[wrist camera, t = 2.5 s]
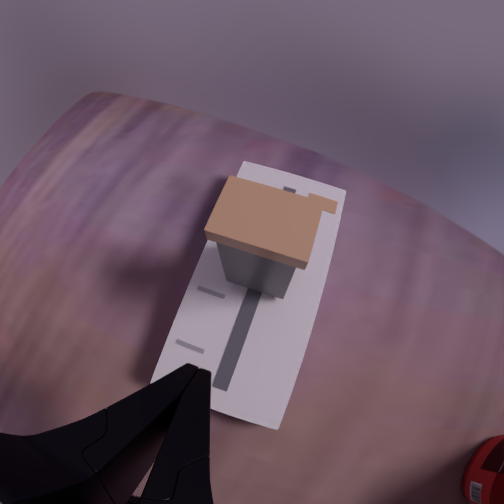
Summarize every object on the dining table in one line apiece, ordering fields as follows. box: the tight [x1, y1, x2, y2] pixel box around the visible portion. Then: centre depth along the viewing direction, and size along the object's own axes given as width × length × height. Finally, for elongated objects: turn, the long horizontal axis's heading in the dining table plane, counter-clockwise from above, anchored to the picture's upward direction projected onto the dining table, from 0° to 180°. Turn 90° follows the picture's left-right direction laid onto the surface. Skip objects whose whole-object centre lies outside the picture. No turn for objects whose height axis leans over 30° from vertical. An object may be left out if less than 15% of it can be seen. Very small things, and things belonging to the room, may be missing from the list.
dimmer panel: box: [150, 161, 346, 430], centre depth 22 cm, size 19×9×3 cm, turn 161°
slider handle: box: [204, 175, 324, 299], centre depth 17 cm, size 3×5×8 cm
